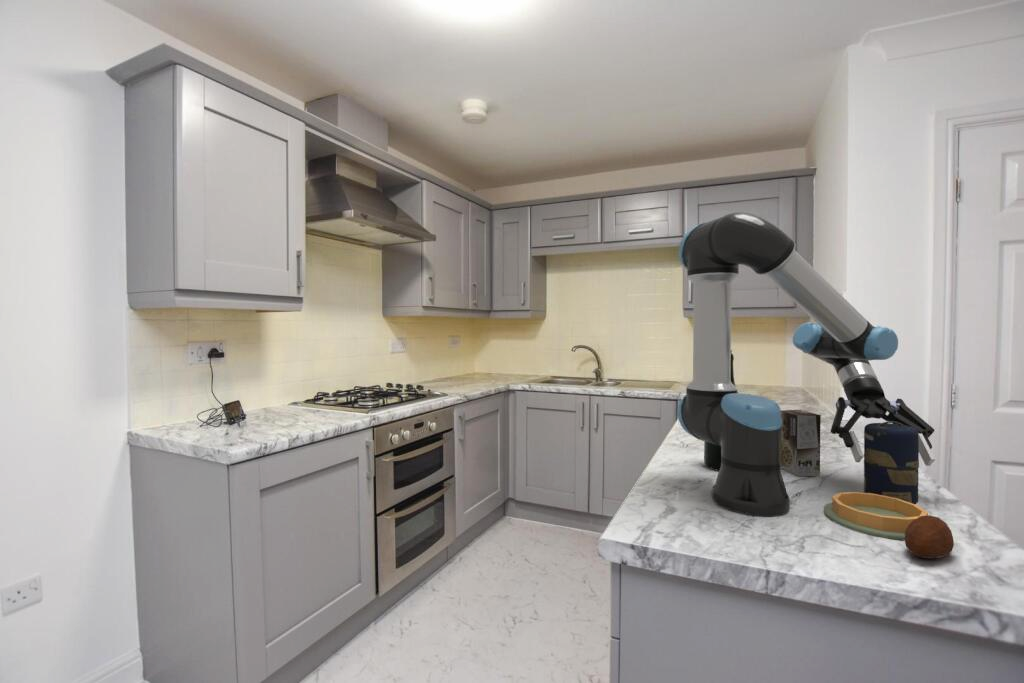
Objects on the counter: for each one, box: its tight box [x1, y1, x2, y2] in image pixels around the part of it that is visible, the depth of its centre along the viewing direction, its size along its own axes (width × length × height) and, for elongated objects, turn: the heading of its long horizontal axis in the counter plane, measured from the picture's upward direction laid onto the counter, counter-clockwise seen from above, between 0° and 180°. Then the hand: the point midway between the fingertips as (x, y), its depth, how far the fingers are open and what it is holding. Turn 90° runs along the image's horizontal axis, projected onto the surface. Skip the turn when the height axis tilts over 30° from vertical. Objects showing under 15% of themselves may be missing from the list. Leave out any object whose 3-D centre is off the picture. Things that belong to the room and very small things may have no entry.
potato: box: [904, 514, 955, 559], centre depth 81 cm, size 6×12×6 cm, turn 125°
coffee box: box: [780, 409, 822, 477], centre depth 128 cm, size 9×6×16 cm
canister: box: [863, 421, 920, 505], centre depth 105 cm, size 10×10×18 cm
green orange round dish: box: [823, 491, 929, 541], centre depth 95 cm, size 18×18×3 cm
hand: (894, 461), depth 105 cm, fingers open, 13 cm apart
